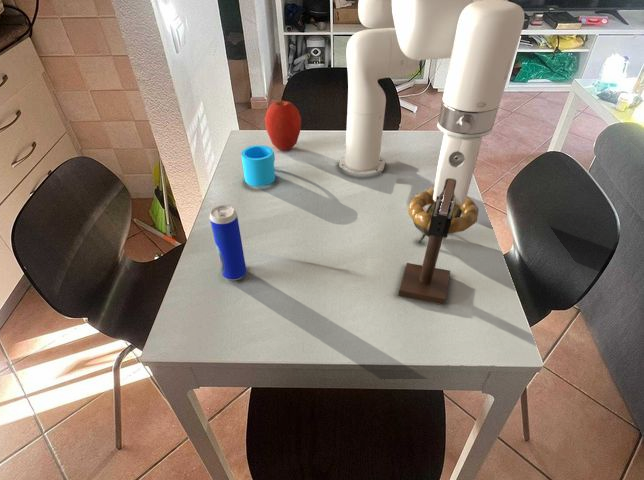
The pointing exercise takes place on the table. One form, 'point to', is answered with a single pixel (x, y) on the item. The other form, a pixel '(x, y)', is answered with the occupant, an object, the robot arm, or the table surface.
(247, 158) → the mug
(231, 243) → the beverage can
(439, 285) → the stand
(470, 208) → the ring
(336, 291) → the table surface
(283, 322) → the table surface
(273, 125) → the apple
